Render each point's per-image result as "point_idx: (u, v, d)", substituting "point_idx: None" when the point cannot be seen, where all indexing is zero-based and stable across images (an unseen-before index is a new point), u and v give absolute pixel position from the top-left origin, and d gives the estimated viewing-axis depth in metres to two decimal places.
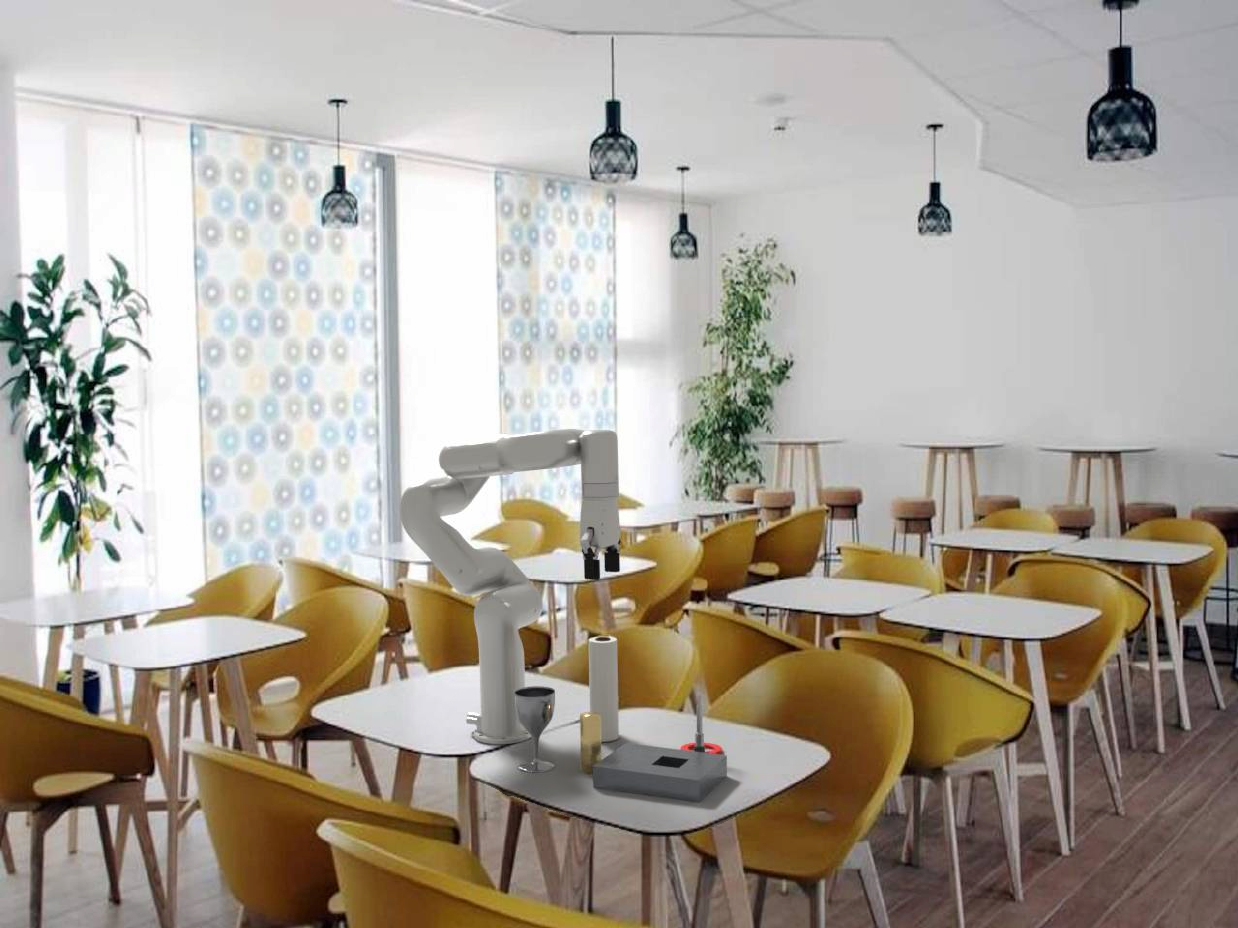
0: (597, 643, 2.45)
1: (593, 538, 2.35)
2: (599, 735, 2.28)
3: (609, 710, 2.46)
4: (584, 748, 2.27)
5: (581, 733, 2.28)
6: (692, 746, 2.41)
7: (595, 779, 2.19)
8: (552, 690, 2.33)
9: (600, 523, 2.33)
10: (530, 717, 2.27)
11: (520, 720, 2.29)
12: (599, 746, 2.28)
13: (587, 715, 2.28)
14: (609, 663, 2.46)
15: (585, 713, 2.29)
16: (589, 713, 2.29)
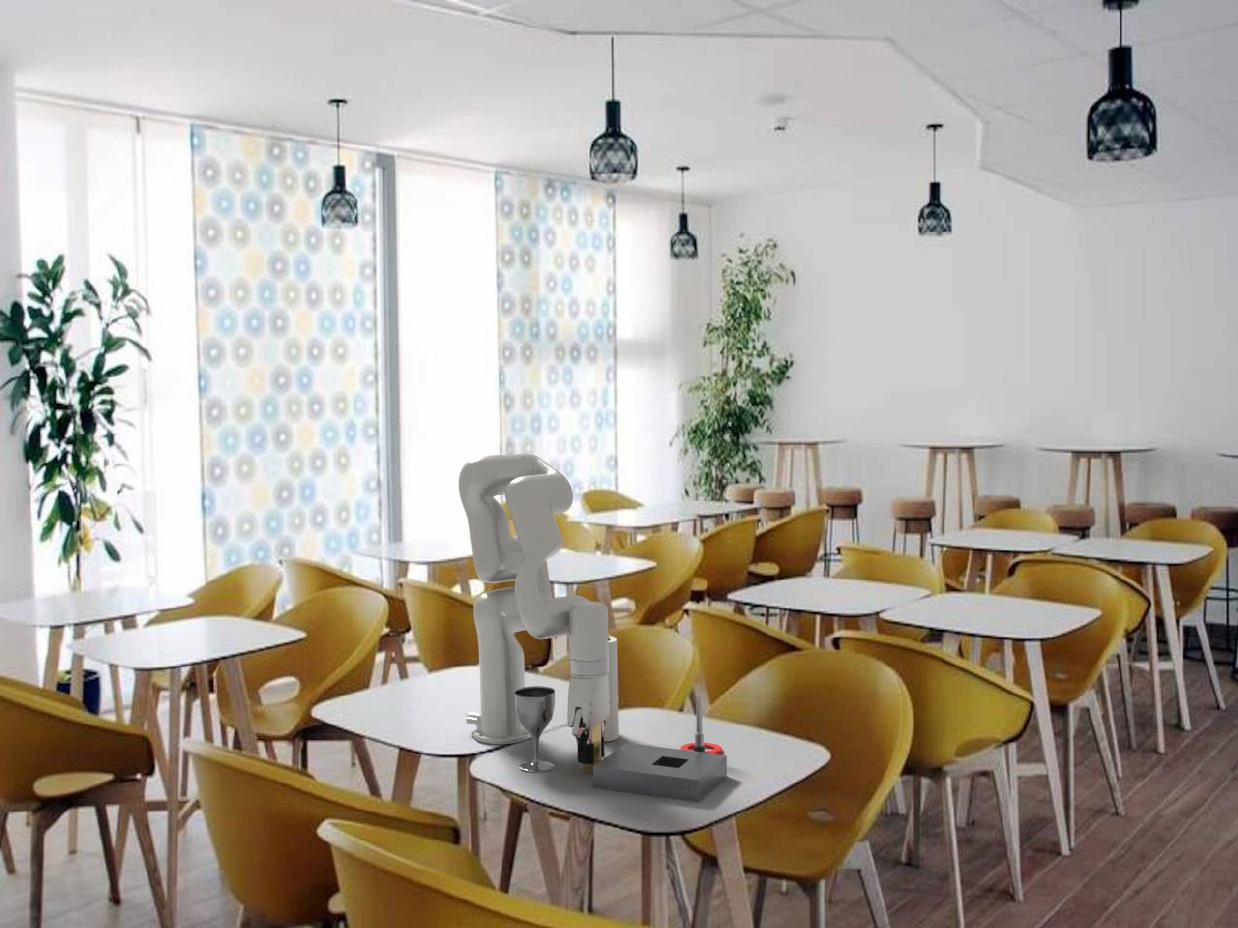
0: None
1: None
2: (599, 735, 2.28)
3: None
4: None
5: None
6: (692, 746, 2.41)
7: (595, 779, 2.19)
8: (552, 690, 2.33)
9: (588, 703, 2.23)
10: (530, 717, 2.27)
11: (520, 720, 2.29)
12: (599, 746, 2.28)
13: None
14: (609, 663, 2.46)
15: None
16: None
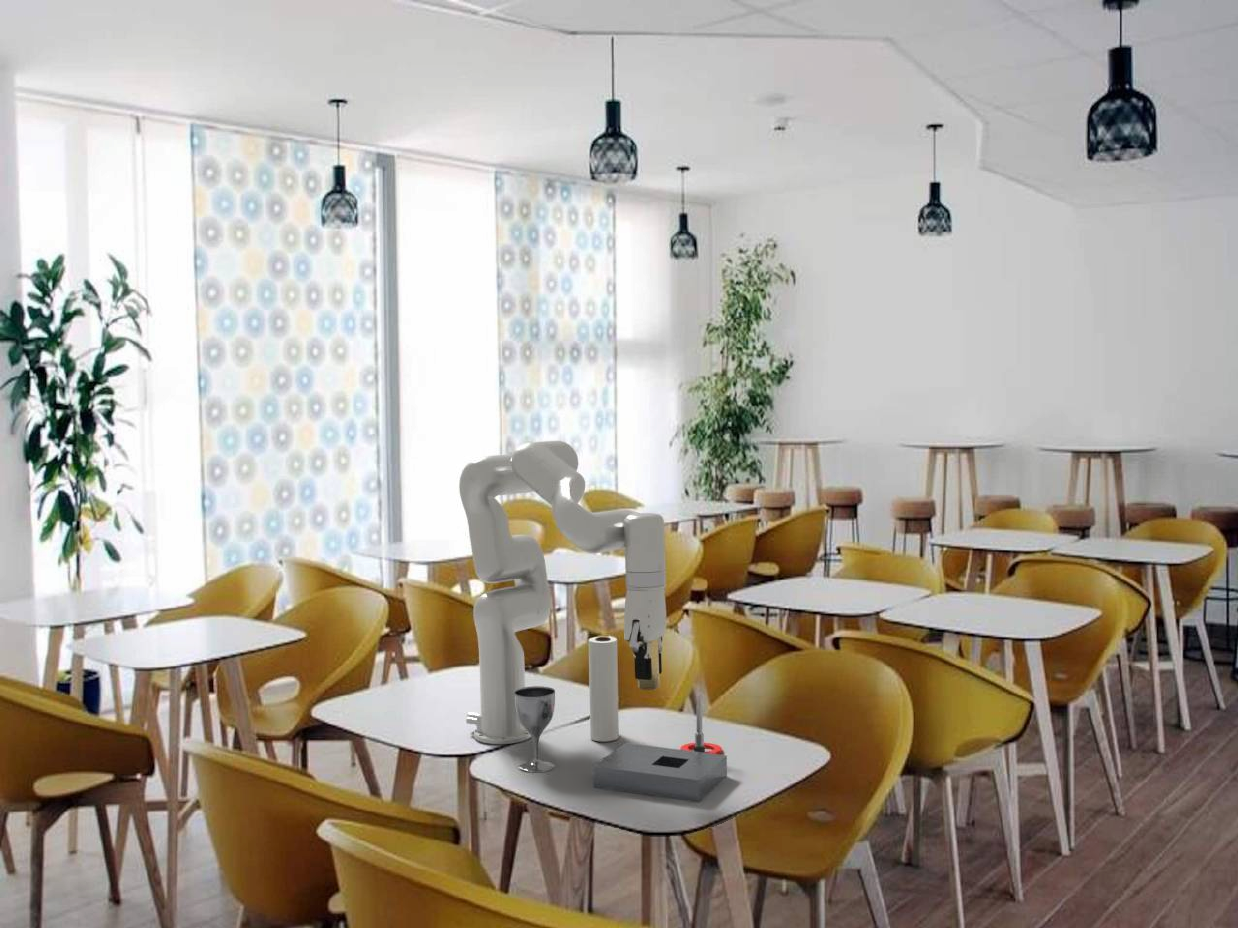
0: (597, 643, 2.45)
1: None
2: (656, 650, 2.20)
3: (609, 710, 2.46)
4: None
5: None
6: (692, 746, 2.41)
7: (595, 779, 2.19)
8: (552, 690, 2.33)
9: (646, 615, 2.16)
10: (530, 717, 2.27)
11: (520, 720, 2.29)
12: (657, 662, 2.20)
13: None
14: (609, 663, 2.46)
15: None
16: None
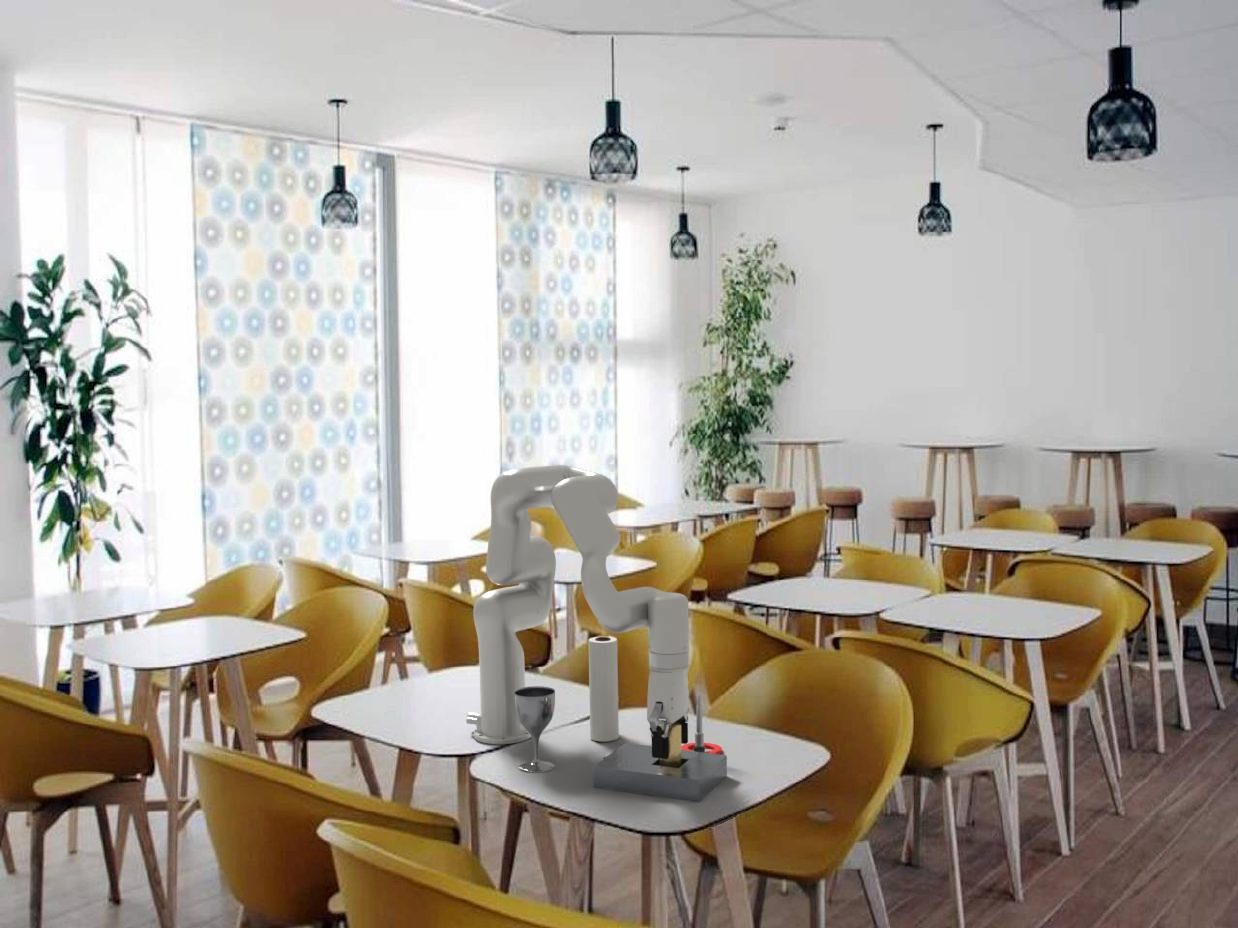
0: (597, 643, 2.45)
1: (662, 712, 2.17)
2: (680, 746, 2.20)
3: (609, 710, 2.46)
4: (664, 759, 2.19)
5: None
6: (692, 746, 2.41)
7: (595, 779, 2.19)
8: (552, 690, 2.33)
9: (670, 698, 2.15)
10: (530, 717, 2.27)
11: (520, 720, 2.29)
12: (680, 758, 2.20)
13: None
14: (609, 663, 2.46)
15: None
16: None
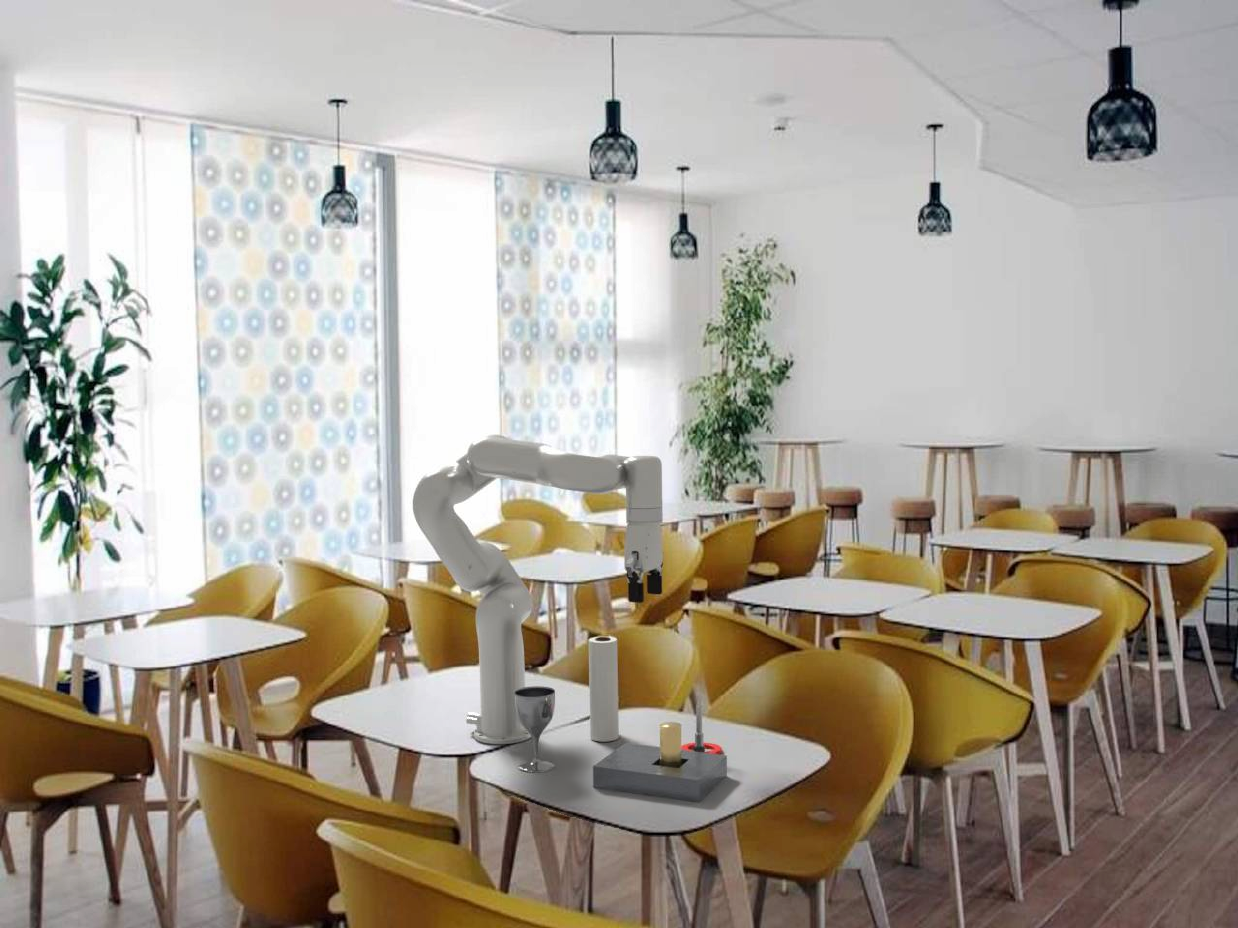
0: (597, 643, 2.45)
1: (637, 562, 2.41)
2: (680, 746, 2.20)
3: (609, 710, 2.46)
4: (664, 759, 2.19)
5: (661, 744, 2.20)
6: (692, 746, 2.41)
7: (595, 779, 2.19)
8: (552, 690, 2.33)
9: (644, 547, 2.39)
10: (530, 717, 2.27)
11: (520, 720, 2.29)
12: (680, 758, 2.20)
13: (668, 725, 2.20)
14: (609, 663, 2.46)
15: (665, 723, 2.21)
16: (669, 723, 2.21)
